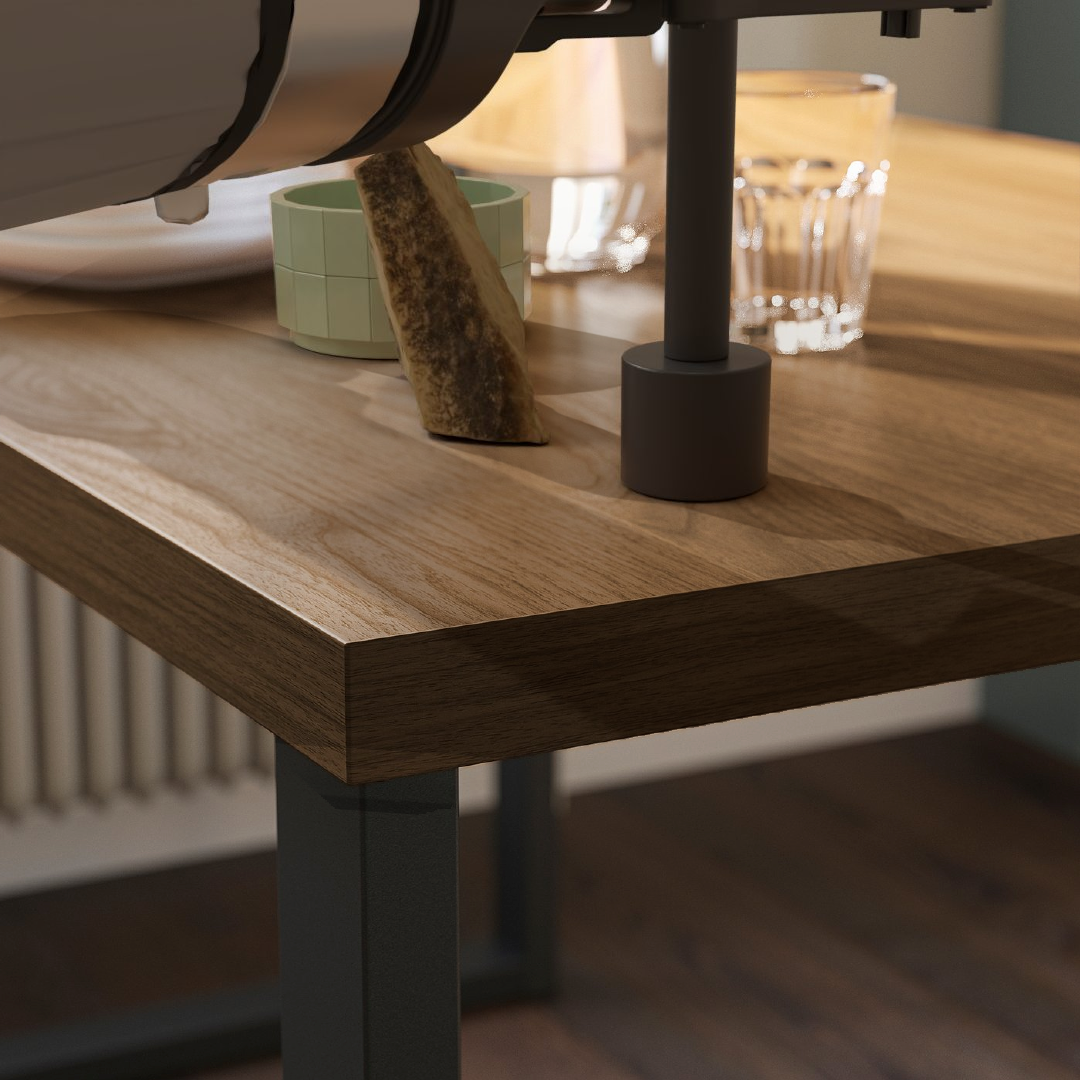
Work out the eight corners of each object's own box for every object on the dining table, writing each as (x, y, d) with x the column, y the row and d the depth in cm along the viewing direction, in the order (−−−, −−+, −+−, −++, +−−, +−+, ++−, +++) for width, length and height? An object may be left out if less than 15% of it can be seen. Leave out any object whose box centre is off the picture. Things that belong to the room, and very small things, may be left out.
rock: (341, 305, 70) (235, 322, 60) (469, 131, 67) (379, 121, 57) (547, 482, 69) (472, 529, 59) (685, 313, 66) (629, 334, 57)
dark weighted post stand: (611, 498, 53) (616, -383, 45) (629, 456, 58) (635, -356, 50) (764, 505, 53) (795, -389, 45) (770, 461, 57) (799, -362, 49)
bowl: (243, 358, 71) (233, 210, 69) (318, 304, 81) (312, 173, 79) (504, 366, 70) (502, 214, 68) (548, 309, 80) (547, 176, 78)
